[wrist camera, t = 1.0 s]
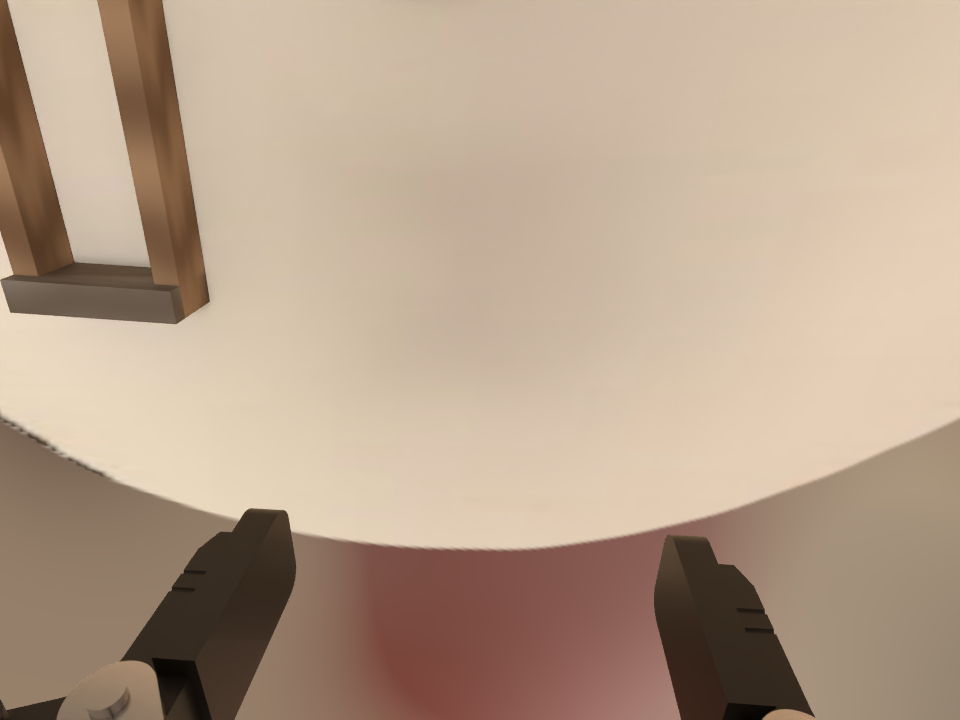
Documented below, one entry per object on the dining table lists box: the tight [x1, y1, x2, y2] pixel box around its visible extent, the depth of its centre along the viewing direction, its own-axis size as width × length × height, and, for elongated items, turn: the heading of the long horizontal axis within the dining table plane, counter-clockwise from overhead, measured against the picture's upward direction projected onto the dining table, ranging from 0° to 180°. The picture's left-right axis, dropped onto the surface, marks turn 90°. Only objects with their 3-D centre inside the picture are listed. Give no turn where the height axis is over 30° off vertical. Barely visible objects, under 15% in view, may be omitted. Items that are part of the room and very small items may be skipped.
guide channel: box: [0, 0, 210, 324], centre depth 30 cm, size 24×10×4 cm, turn 177°
